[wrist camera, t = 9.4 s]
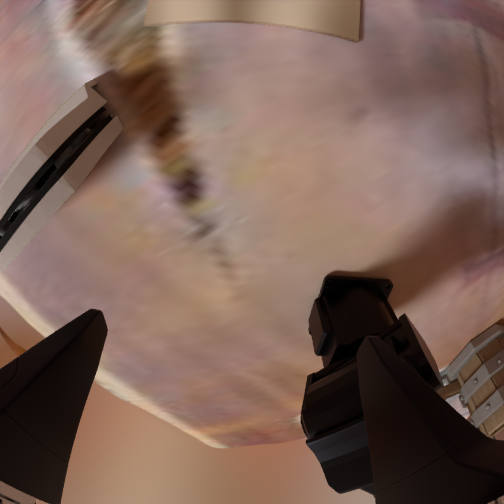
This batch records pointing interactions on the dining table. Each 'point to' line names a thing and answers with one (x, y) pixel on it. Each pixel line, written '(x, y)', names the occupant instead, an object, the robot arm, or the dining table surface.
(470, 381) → the tankard
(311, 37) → the dining table surface
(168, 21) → the ring holder
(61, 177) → the grey piece
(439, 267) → the dining table surface
